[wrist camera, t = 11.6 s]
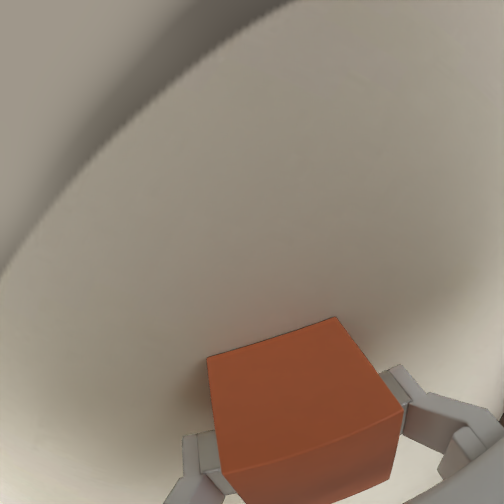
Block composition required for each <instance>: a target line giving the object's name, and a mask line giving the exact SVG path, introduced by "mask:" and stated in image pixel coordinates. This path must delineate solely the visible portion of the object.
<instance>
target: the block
mask: <svg viewBox="0 0 504 504" xmlns="http://www.w3.org/2000/svg"><path fill="white" fill-rule="evenodd" d="M206 360H207V369H208V378H209V387H210V395H211V403H212V411H213V418H214V426H215V433H216V440H217V447H218V454H219V460H220V467H221V473H222V475H223V476H224V477H225V479H226V480H227V481H228V482H229V484H230V485H231V486H232V487H233V489H234V490H235V491H236V492H237V493H238V495H239V496H240V497H241V498H242V499H243V501H244V502H245V503H246V504H331V503H334V502H337V501H340V500H342V499H345V498H347V497H350V496H352V495H355V494H357V493H360V492H362V491H364V490H367V489H369V488H371V487H373V486H376V485H378V484H380V483H382V482H384V481H386V480H388V479H389V478H390V474H391V470H392V466H393V462H394V458H395V453H396V449H397V444H398V440H399V435H400V430H401V425H402V419H403V414H404V409H403V407H402V406H401V405H400V403H399V402H398V400H397V399H396V398H395V396H394V395H393V394H392V392H391V391H390V389H389V388H388V387H387V385H386V384H385V383H384V381H383V380H382V378H381V377H380V376H379V374H378V373H377V372H376V370H375V369H374V367H373V366H372V365H371V363H370V362H369V361H368V359H367V358H366V357H365V355H364V354H363V353H362V351H361V350H360V349H359V347H358V346H357V344H356V343H355V342H354V340H353V339H352V338H351V336H350V335H349V334H348V332H347V331H346V330H345V328H344V327H343V326H342V324H341V323H340V322H339V320H338V319H337V318H336V317H333V318H330V319H327V320H324V321H322V322H319V323H316V324H313V325H310V326H307V327H304V328H302V329H299V330H296V331H293V332H290V333H287V334H284V335H281V336H278V337H274V338H271V339H268V340H265V341H262V342H259V343H255V344H252V345H249V346H246V347H242V348H239V349H235V350H232V351H229V352H225V353H222V354H218V355H214V356H211V357H208V358H207V359H206Z"/></svg>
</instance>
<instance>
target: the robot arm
mask: <svg viewBox="0 0 504 504" xmlns="http://www.w3.org/2000/svg"><path fill="white" fill-rule="evenodd" d="M379 376H380V377H381V378H382V380H383V381H384V383H385V384H386V385H387V387H388V388H389V389H390V391H391V392H392V394H393V395H394V396H395V398H396V399H397V400H398V402H399V403H400V405H401V406H402V407H403V409H404V414H403V419H402V425H401V430H400V435H401V434H403V435H404V436H406V437H408V438H410V439H412V440H414V441H416V442H418V443H421V444H423V445H425V446H427V447H429V448H431V449H433V450H435V451H437V452H440V453H442V454H444V456H443V458H442V460H441V462H440V464H439V466H438V468H437V471H438V472H439V474H440V475H441V477H442V479H443V481H442V482H440V483H438V484H437V485H435V486H433V487H432V488H430V489H428V490H427V491H425V492H423V493H421V494H420V495H418V496H416V497H414V498H412V499H410V500H408V501H407V502H405V503H403V504H504V427H503V426H502V425H501V424H500V423H499V422H498V421H497V419H496V418H495V417H494V416H493V415H492V414H491V413H490V412H489V410H488V409H486V408H482V407H479V406H475V405H472V404H468V403H465V402H461V401H458V400H454V399H451V398H448V397H445V396H441V395H438V394H435V393H432V392H429V393H427V394H426V393H425V391H424V390H423V389H422V388H421V387H420V385H419V384H418V383H417V382H416V381H415V379H414V378H413V377H412V376H411V375H410V374H409V372H408V371H407V370H406V369H405V368H404V366H403V365H401V364H398V365H396V366H394V367H392V368H390V369H388V370H385V371H383V372H381V373H379ZM182 457H183V474H184V477H182V478H179V480H178V481H177V483H176V484H175V486H174V487H173V489H172V491H171V492H170V494H169V495H168V497H167V498H166V500H165V501H164V503H163V504H222V503H223V501H224V499H225V495H229V494H234V493H237V492H236V491H235V490H234V489H233V487H232V486H231V485H230V484H229V482H228V481H227V480H226V479H225V477H224V476H223V475H222V473H221V467H220V460H219V454H218V447H217V440H216V433H215V430H211V431H206V432H200V433H195V434H190V435H185V436H183V438H182Z"/></svg>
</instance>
